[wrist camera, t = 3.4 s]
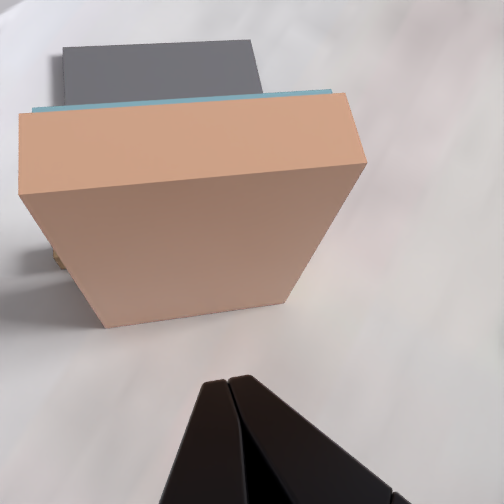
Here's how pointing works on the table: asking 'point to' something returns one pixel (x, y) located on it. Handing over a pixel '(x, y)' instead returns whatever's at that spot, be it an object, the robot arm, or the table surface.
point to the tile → (188, 197)
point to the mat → (159, 71)
